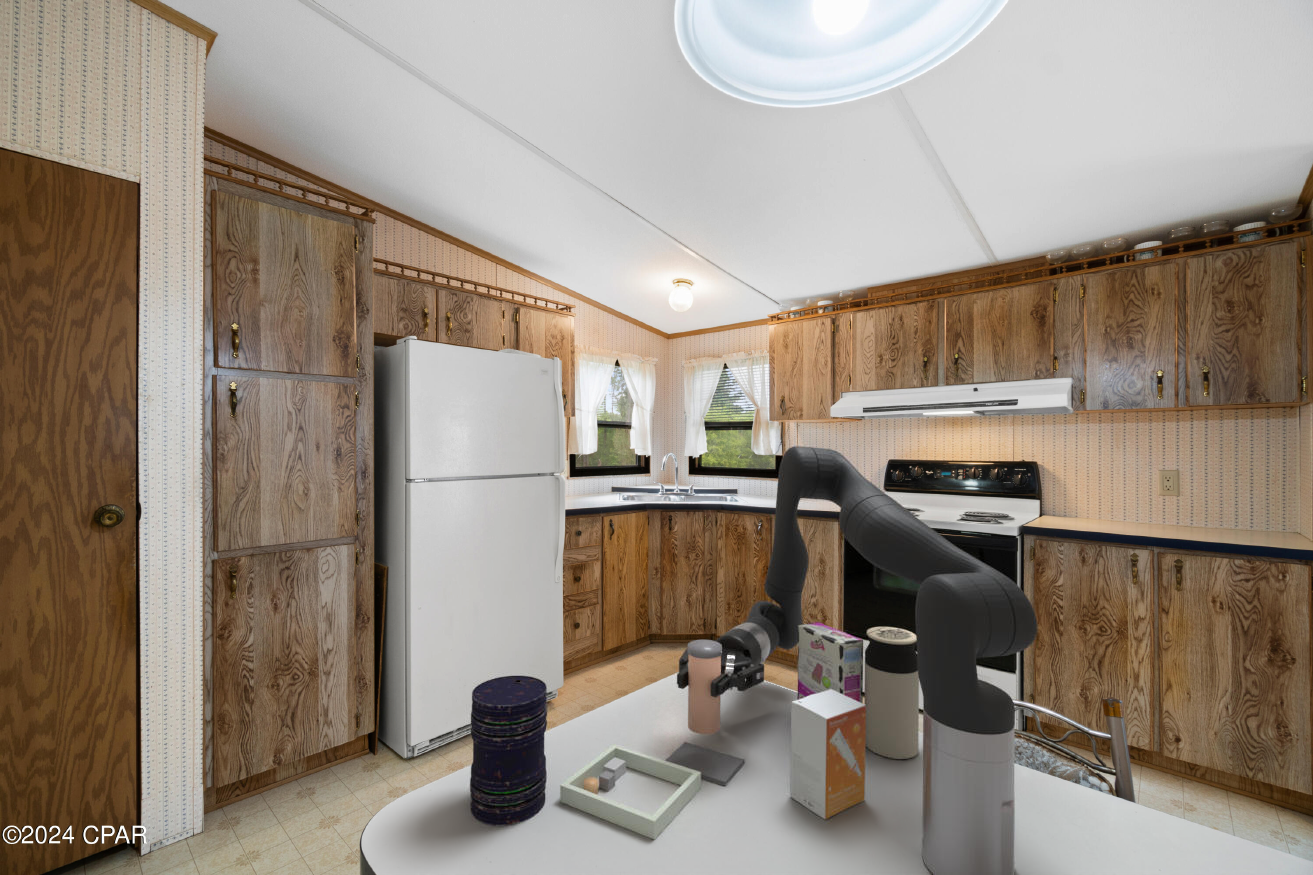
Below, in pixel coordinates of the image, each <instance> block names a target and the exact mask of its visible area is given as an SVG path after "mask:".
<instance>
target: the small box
mask: <svg viewBox="0 0 1313 875" xmlns="http://www.w3.org/2000/svg"><path fill="white" fill-rule="evenodd" d="M790 704H791V706H790V707H791V708H790V710H791V712H790V713H791V715H790V716H791V718H790V771H789V772H790V775H789V776H790V777H789V778H790V782H789V783H790V784H789V786H790V787H789V796H790V798H792V799H793V800H794V801H796V802H798V803H799V804H801V805H802V806H804V807H805V808H807V809H808V810H810V811H811V812H813V813H814V814H816V815H817V816H819V817H821V819H823V820H827V819H829V818H831V817H833V816H835V815H837V814H839V813H840V812H843V811H845V810H847V809H849V808H851V807H853V806H855V805H857V804H859V803H862V802H864V801H865V797H866V796H865V795H866V794H865V792H866V791H865V781H866V745H865V731H866V705H865V703H863V704H862V703H860V702H858V701H856V700H854V699H852V698H849V697H847V696H845V695H843V694H841V693H838V692H836V691H834V690H832V689H830V690H827V691H824V692H820V693H817V694H812V695H809V696H807V697H805V698H802V699H799V700H797V699H796V700H793V701H791V702H790Z"/></svg>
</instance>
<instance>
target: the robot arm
mask: <svg viewBox="0 0 1313 875" xmlns="http://www.w3.org/2000/svg"><path fill="white" fill-rule="evenodd" d="M782 456H783V457H782V459H781V462H780V465H779V469H778V476H777V487H776V502H775V515H774V516H775V518H774V532H773V533H774V534H773V543H772V550H771V555H770V559H769V563H768V569H767V573H766V577H765V582H764V592H765V594H766V595H767V596H768V597H769V598H770V599H771V600H772V601H774V602H775V603H776V604H774V603H773V602H771V601H767V600H758V601H756V602H755V603H754V604H753V605H752V607H751V609H750V610H749V613H748V617H747V619H746V620H745V621H744V622H742V623H741V624H738V625H736V626H733V628H731V629H729V630H728V631H726V632H725V633H723V634H722V635H720V637H718V638H717V639H715V641H716V642H718V643H720V644H721V645H722V654H721V674H720V675H719V676H718V677H717V678H715V679H714V680H713V681H712V682H711V696H712V697H717V696H719V695H720V696H721V695H724V694H725V693H726V692H727V691H732V690H733V688H737V689H736V691H739V692H745V691H747V690H750V689H752V688H753V687H755V686H758V685H760V684H761V683H763V682H765V664H764V662H765V661H766V659H767V658H768V657H769V656H770V655H772V653H774V651H775V650H776V649H777V647H778V648H780V649H783V650H792V649H794V648H795V647H796V646H798V625H804V621H803V620H804V619H803V611H802V610H803V609H802V606H803V605H802V604H803V603H802V601H803V600H802V599H803V598H802V596H803V590H804V588H805V587H804V586H805V583H806V582H805V581H806V578H807V574H808V569H809V554H808V548H807V546H806V543H805V540H804V537H803V535H802V532H801V530H800V526H799V523H798V507H799V503H800V501H801V499H808V500H822V501H828V502H832V503H833V504H836V505H837V506H838V507H839V508H840V509H839V515H838V516H839V519H838V520H839V522H838V523H839V527H840V531H841V533H842V535H843V536H844V538H845V539H846V540H847V542H848V543H849V544H850V545H851V546H852V547H853V548H854V550H856V551H857V552H858V553H859V554H860V555H861V556H862V557H863V558H864V559H865V560H867V561H868V562H869V563H870V564H872V565H873V566H875V567H877V568H879V569H881V570H883V571H885V572H887V573H890V574H891V575H894V576H896V577H899V578H902V579H904V580H906V581H909V582H912V583H913V584H917V585H918V586H919V588H918V591H917V594H916V600H915V610H914V611H915V612H914V614H915V619H914V620H915V635H916V639H917V641H916V653H917V662H918V676H919V686H920V688H921V692H922V697H923V698H922V699H923V700H922V702H923V703H922V704H923V707H922V708H923V709H922V711H923V712H922V714H923V715H922V716H923V717H922V719H923V721H922V738H923V739H922V832H921V833H922V834H921V843H922V859H923V863H924V864H925V866H926V867H927V869H928V870H929V871H930V873H932V874H933V875H1015V835H1016V834H1015V831H1016V830H1015V829H1016V828H1015V825H1016V824H1015V820H1016V818H1015V814H1016V811H1015V810H1016V808H1015V807H1016V806H1015V799H1016V798H1015V736H1016V735H1015V731H1016V730H1015V728H1016V727H1015V725H1016V711H1015V710H1016V708H1015V703H1014V701H1013V699H1012V697H1011V696H1010V694H1008V693H1007V692H1006V691H1004V690H1003V689H1002V688H1000V687H998V686H997V685H995V684H992V683H990V682H988V681H985V680H982V679H979V677H978V668H977V659H979V658H992V657H993V658H994V657H1003V656H1004V657H1005V656H1009V655H1013V654H1016V653H1020V652H1022V651H1025V650H1026V649H1028V648H1029V647H1030V646H1031V645H1032V644H1033V643H1034V641H1035V639H1036V637H1037V634H1038V619H1037V616H1036V612H1035V609H1034V606H1033V604H1032V602H1031V601H1030V599H1029V598H1028V596H1027V595H1026V593H1025V592H1024V591H1023V590H1022V589H1021V587H1019V586H1018V584H1016V582H1014V580H1012V579H1011V578H1010V577H1008V576H1006V575H1005V574H1003V573H1002V572H1000V571H999V570H997V569H995V568H994V567H992V566H991V565H988V564H986V563H985V562H983V561H981V560H980V559H977V558H976V557H975V556H973V555H971V554H970V553H968V552H966V551H964V550H963V549H961V548H959V547H957V545H955V544H953V543H952V542H950V541H949V540H948V539H946V538H945V537H944V536H942V535H941V534H940V533H938V532H937V531H936V530H934V529H932V527H930V526H929V525H928V524H926V523H925V522H923V521H922V520H921V519H919V518H918V517H916V515H914V514H913V513H912V512H911V511H909V510H908V509H907V508H906V507H904V506H903V505H902V504H901V503H899V502H897V500H895V499H894V498H893V497H891V496H890V495H888V494H887V493H885V492H883V490H881V489H880V488H879V487H877V486H876V485H875V484H873V483H872V482H871V481H869V480H868V479H867V478H866V477H865V476H863V475H862V474H861V472H860V471H859V470H858V469H857V468H855V466H854V465H853V464H852V463H851V461H850V460H848V459H847V458H846V457H845V456H844V455H843V453H840V452H839V451H837V450H835V449H831V448H822V447H813V446H801V445H800V446H791V447H789V448H788V449H787V450H786V451H785V452H784V454H783V455H782ZM688 667H689V654H688V648H686V649H685V650H684V652H683V653H682V654H681V656H680V658H679V659H678V672H677V674H676V685H677V688H679V689H681V690H684V689H685V688H687V687H688Z"/></svg>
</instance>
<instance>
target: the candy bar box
mask: <svg viewBox="0 0 1313 875" xmlns="http://www.w3.org/2000/svg"><path fill="white" fill-rule="evenodd" d="M863 684H864V640H863V639H862V638H858V637H856V636H854V635H852V634H849V633H846V632H844V631H841V630H839V629H837V628H833V627H831V626H829V625H826V624H824V623H821V622H812V623H811V622H810V623H805V624H804V623H803V625H798V644H797V699H796V700H799V699H802V698H805V697H807V696H809V695H812V694H817V693H820V692H824V691H827V690H830V689H832V690H834V691H836V692H838V693H841V694H843V695H845V696H847V697H849V698H852V699H854V700H856V701H858V702H860V703H862V704H864V703H863V698H864V696H863V694H864V693H863V692H864V691H863V690H864V688H863V686H864V685H863Z"/></svg>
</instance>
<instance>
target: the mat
mask: <svg viewBox="0 0 1313 875" xmlns="http://www.w3.org/2000/svg"><path fill="white" fill-rule="evenodd" d="M665 761H668V762H671V763H674V764H677V765H680V766H683V767H686V768H689V769H693V770H696V771H699V772H701V780H706V781H708V782H711V783H715V784H716V785H717V784H718V785H720V786H723V787H727V785H728V784H729V783H730V781H731V780H732V779H733V777H735V775H736V774H737V773H738V772H739V771H740V769H741V768H742V767H743V766H744V764H745V758H741V757H738V756H734V755H731V754H729V753H724V752H722V751H719V750H715V749H710V748H708V747H704V746H701V745H699V744H698V745H697V744H694V743H692V742H691V743H690V742H687V741H685V742H683V743H682V744H681V745H680V746H679V747H678V748H676V750H675V751H673V752H671V754H670V755H669V756H668V757H667V758H666V759H665Z"/></svg>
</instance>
